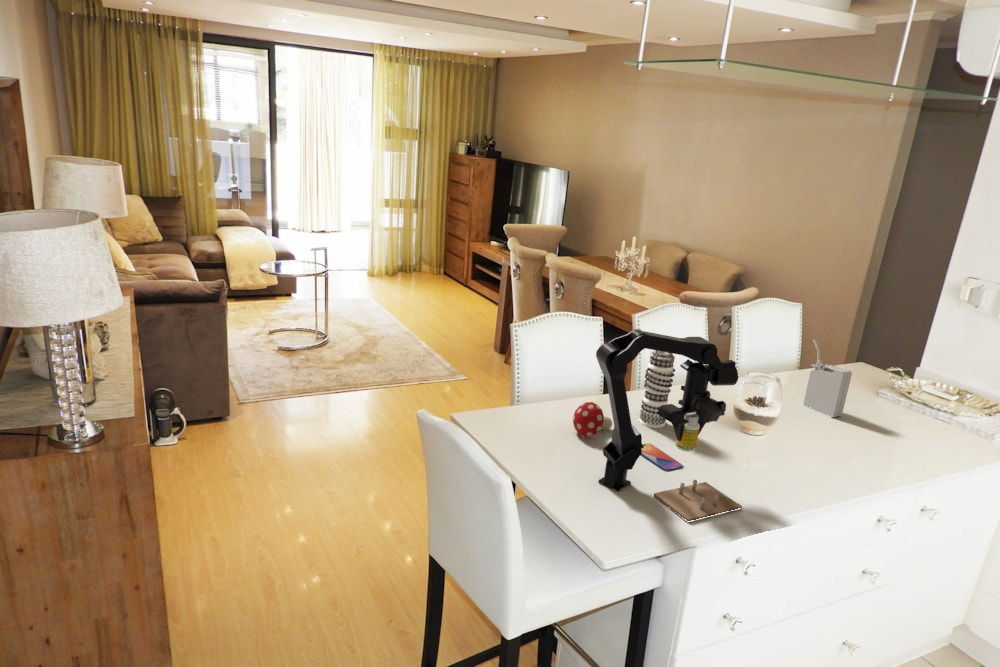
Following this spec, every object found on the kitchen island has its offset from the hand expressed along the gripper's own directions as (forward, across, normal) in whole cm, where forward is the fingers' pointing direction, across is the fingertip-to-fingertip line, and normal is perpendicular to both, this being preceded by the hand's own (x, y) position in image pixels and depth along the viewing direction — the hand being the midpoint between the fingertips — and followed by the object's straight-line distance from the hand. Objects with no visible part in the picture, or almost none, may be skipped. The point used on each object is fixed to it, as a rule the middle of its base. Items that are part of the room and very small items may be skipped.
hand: (686, 439), depth 179 cm
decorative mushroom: (+13, -6, +32) cm, 35 cm away
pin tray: (+12, -4, -11) cm, 17 cm away
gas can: (+12, +88, +24) cm, 92 cm away
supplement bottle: (+3, 0, 0) cm, 3 cm away
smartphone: (+13, +3, +13) cm, 18 cm away
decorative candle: (+12, +18, +34) cm, 40 cm away
